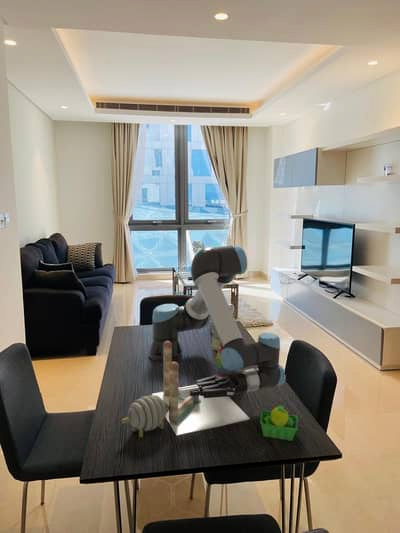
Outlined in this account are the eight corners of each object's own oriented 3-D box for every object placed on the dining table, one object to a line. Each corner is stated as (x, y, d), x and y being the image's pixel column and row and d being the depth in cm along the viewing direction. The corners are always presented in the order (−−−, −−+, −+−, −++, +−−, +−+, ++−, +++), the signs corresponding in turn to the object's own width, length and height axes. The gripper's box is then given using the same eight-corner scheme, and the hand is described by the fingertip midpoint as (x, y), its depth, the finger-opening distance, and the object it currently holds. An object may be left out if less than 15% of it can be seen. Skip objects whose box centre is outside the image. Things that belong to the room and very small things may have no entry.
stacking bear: (238, 384, 163) (239, 341, 159) (213, 381, 165) (214, 339, 161) (241, 372, 173) (242, 332, 170) (217, 370, 175) (218, 330, 172)
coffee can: (218, 341, 208) (219, 315, 205) (236, 346, 202) (237, 318, 200) (207, 348, 199) (208, 320, 196) (226, 353, 194) (227, 324, 191)
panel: (187, 401, 147) (188, 348, 143) (195, 404, 146) (196, 350, 142) (166, 420, 135) (166, 362, 131) (175, 423, 133) (175, 365, 129)
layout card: (151, 394, 154) (151, 393, 154) (215, 383, 164) (215, 382, 163) (176, 435, 128) (176, 434, 128) (249, 419, 138) (249, 418, 138)
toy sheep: (177, 427, 133) (177, 395, 131) (133, 448, 122) (133, 414, 120) (157, 414, 141) (157, 383, 138) (114, 433, 129) (113, 400, 127)
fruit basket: (296, 430, 133) (298, 397, 131) (296, 446, 124) (299, 412, 122) (261, 424, 135) (262, 393, 133) (258, 440, 127) (260, 407, 125)
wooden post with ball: (161, 396, 153) (161, 341, 149) (165, 392, 156) (165, 338, 152) (196, 405, 147) (197, 348, 143) (200, 400, 150) (201, 345, 146)
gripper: (252, 400, 137) (186, 414, 128) (234, 382, 150) (172, 394, 141) (253, 379, 136) (186, 392, 127) (234, 363, 148) (172, 373, 139)
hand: (179, 393), depth 134 cm, fingers closed
